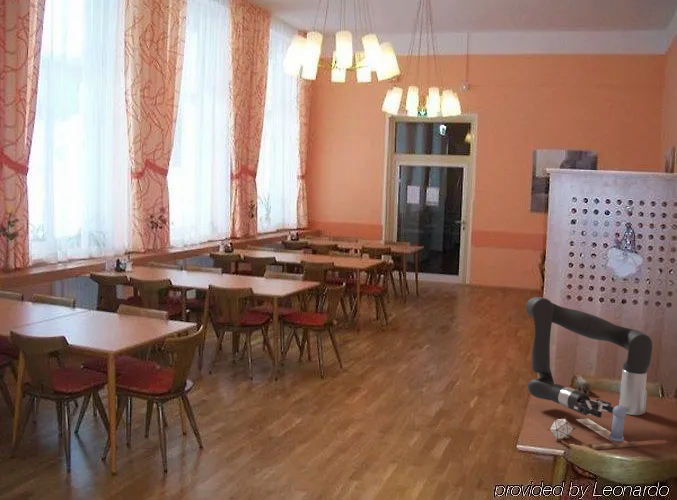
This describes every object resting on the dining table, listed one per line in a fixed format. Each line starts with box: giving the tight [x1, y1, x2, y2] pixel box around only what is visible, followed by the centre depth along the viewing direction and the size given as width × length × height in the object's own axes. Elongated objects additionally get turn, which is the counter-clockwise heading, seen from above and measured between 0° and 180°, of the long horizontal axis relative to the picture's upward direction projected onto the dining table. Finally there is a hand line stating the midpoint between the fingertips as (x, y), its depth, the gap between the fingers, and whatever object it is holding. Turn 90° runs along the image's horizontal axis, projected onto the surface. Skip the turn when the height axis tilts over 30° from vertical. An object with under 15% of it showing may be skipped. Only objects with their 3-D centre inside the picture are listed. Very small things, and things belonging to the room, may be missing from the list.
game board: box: [575, 418, 639, 450], centre depth 268 cm, size 18×26×1 cm
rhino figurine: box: [575, 376, 591, 396], centre depth 320 cm, size 4×14×6 cm, turn 0°
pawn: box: [609, 404, 627, 443], centre depth 260 cm, size 5×5×13 cm
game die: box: [547, 416, 576, 442], centre depth 260 cm, size 9×8×10 cm
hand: (608, 413), depth 263 cm, fingers open, 8 cm apart
